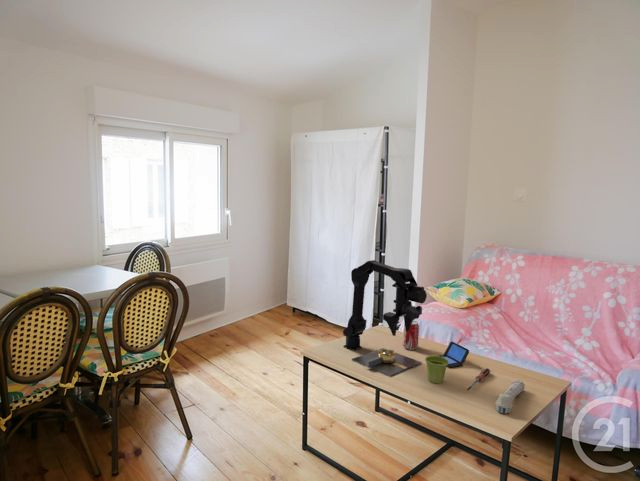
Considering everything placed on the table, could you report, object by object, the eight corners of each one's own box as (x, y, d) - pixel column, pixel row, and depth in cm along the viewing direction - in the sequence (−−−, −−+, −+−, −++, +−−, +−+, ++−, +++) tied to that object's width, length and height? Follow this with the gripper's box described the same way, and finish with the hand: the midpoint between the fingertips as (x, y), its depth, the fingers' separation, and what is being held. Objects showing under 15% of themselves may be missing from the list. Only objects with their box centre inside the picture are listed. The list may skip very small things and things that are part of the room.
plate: (351, 360, 199) (351, 358, 198) (383, 349, 213) (383, 348, 213) (389, 376, 182) (390, 375, 182) (421, 363, 197) (421, 362, 197)
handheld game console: (431, 358, 203) (432, 343, 202) (450, 356, 208) (451, 340, 207) (449, 369, 192) (450, 353, 191) (469, 366, 196) (470, 350, 195)
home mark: (392, 364, 194) (392, 363, 194) (395, 363, 195) (395, 362, 195) (404, 368, 189) (404, 368, 189) (407, 367, 190) (407, 367, 190)
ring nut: (385, 354, 203) (385, 347, 203) (399, 360, 197) (399, 352, 197) (360, 363, 192) (360, 355, 191) (374, 369, 186) (374, 361, 186)
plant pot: (448, 377, 183) (449, 357, 182) (446, 387, 174) (448, 366, 173) (425, 374, 186) (426, 354, 185) (422, 383, 177) (423, 362, 176)
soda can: (416, 345, 219) (418, 320, 218) (418, 351, 212) (420, 324, 210) (402, 344, 220) (403, 319, 218) (403, 350, 213) (405, 323, 211)
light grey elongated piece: (527, 382, 172) (510, 396, 152) (525, 398, 172) (508, 415, 152) (513, 378, 175) (495, 391, 156) (511, 394, 176) (493, 410, 156)
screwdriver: (470, 395, 169) (471, 387, 168) (463, 392, 170) (463, 385, 170) (491, 374, 188) (491, 367, 188) (484, 372, 190) (484, 365, 189)
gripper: (404, 306, 178) (402, 343, 180) (431, 299, 190) (428, 334, 192) (382, 300, 186) (381, 336, 188) (409, 293, 198) (408, 327, 200)
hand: (400, 333), depth 192 cm, fingers open, 9 cm apart
